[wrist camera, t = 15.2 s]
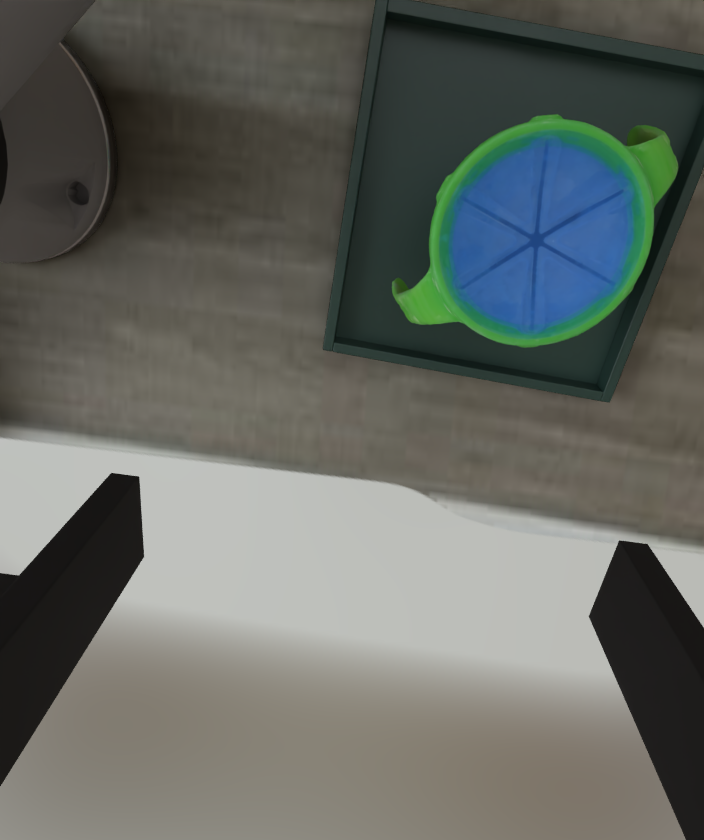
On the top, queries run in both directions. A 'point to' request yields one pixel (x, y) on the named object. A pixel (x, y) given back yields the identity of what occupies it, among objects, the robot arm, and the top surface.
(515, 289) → the sippy cup
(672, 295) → the top surface
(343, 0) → the top surface
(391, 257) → the tray
